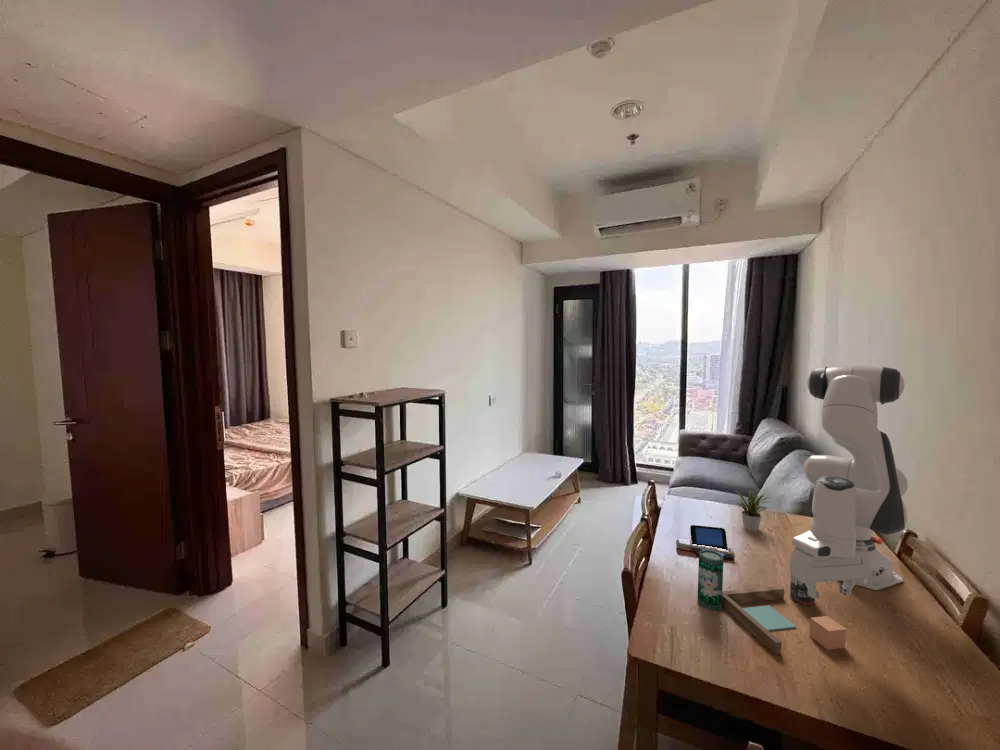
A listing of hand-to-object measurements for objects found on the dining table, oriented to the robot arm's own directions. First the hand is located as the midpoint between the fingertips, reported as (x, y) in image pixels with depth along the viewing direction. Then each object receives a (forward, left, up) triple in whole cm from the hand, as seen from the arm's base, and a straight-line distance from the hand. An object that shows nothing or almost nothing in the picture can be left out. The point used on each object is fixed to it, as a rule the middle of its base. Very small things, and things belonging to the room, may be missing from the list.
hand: (829, 595), depth 101 cm
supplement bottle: (-9, -16, -13) cm, 23 cm away
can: (+20, -18, -13) cm, 30 cm away
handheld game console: (-2, -47, -13) cm, 48 cm away
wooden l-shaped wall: (+6, -9, -13) cm, 16 cm away
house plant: (-31, -60, -13) cm, 69 cm away
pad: (+8, -10, -13) cm, 18 cm away
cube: (0, 0, -13) cm, 13 cm away
